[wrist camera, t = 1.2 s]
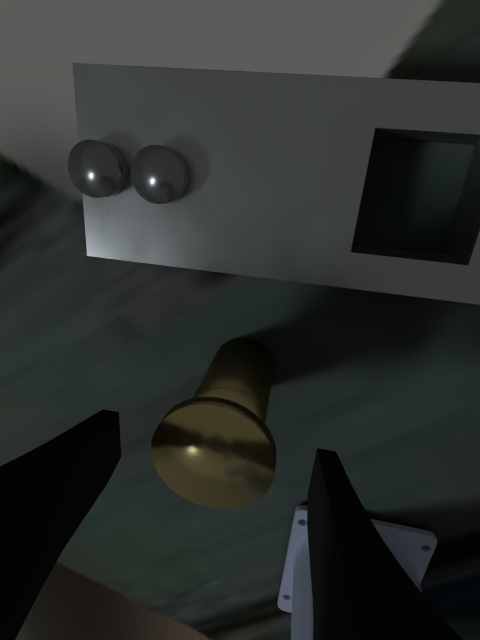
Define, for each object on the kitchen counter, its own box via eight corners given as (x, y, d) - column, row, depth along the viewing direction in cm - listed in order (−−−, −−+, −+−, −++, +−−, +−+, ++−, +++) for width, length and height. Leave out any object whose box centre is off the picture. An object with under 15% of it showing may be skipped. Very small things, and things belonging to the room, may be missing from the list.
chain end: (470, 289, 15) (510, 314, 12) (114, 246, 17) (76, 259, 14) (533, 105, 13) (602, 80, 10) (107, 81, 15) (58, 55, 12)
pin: (279, 407, 19) (267, 520, 13) (201, 394, 20) (151, 495, 13) (290, 334, 18) (283, 420, 11) (205, 321, 18) (150, 396, 12)
